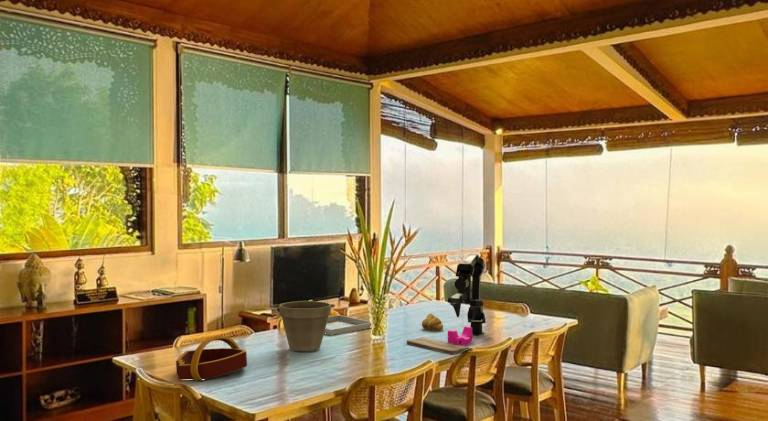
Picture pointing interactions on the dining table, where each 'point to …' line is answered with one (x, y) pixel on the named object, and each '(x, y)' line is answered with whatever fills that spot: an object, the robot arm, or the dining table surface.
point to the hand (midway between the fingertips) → (465, 318)
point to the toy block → (460, 340)
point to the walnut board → (437, 345)
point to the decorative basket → (211, 360)
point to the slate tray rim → (361, 325)
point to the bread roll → (432, 323)
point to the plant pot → (305, 323)
